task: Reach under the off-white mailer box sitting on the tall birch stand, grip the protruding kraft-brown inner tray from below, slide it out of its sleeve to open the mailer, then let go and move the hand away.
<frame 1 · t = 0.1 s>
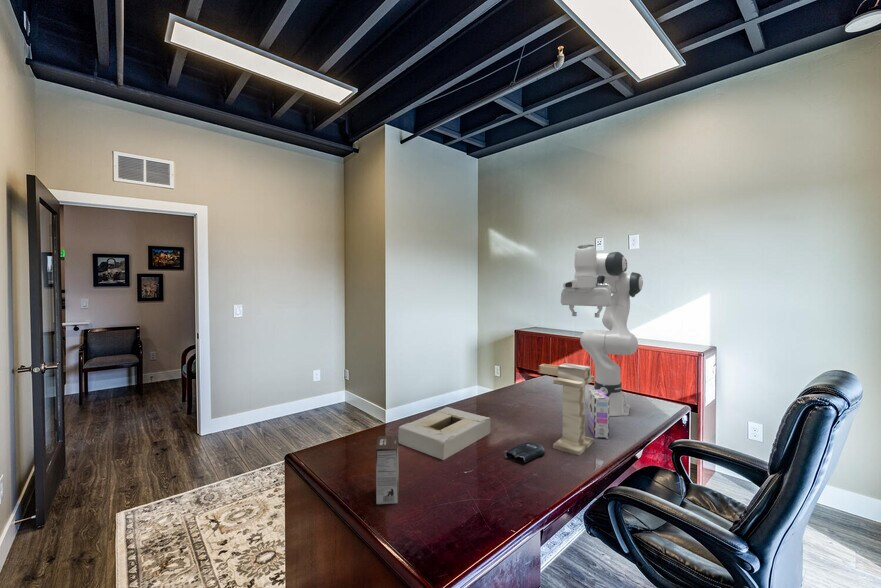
hand: (585, 316, 160), 48 cm above the table, tool pointing down, fingers open, 8 cm apart
electronic device: (526, 456, 139), on the table
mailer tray: (562, 371, 150), point 28 cm above the table, slide at 0.0 cm
coffee box: (387, 496, 114), on the table
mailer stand: (573, 445, 148), on the table
box: (446, 439, 155), on the table
candy box: (598, 432, 160), on the table
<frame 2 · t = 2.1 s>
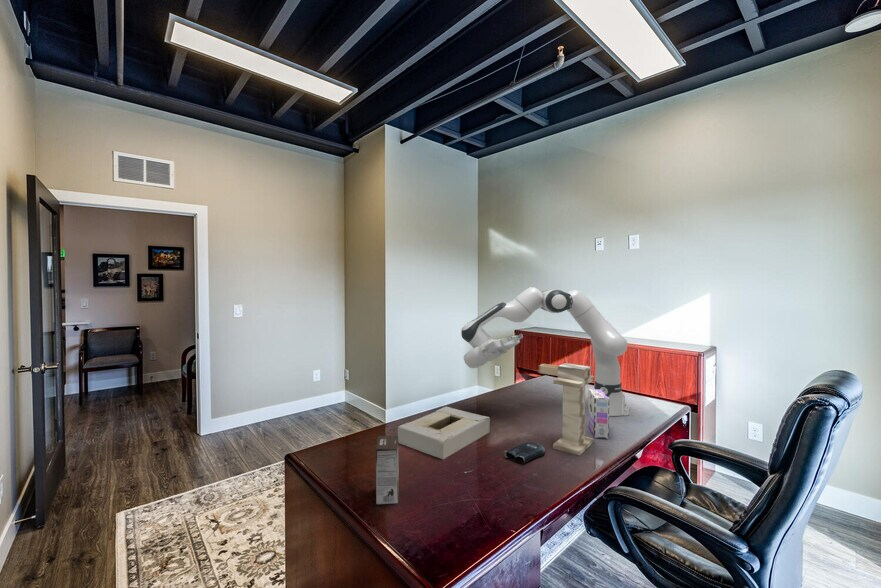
hand: (516, 336, 166), 39 cm above the table, tool pointing upward, fingers open, 8 cm apart
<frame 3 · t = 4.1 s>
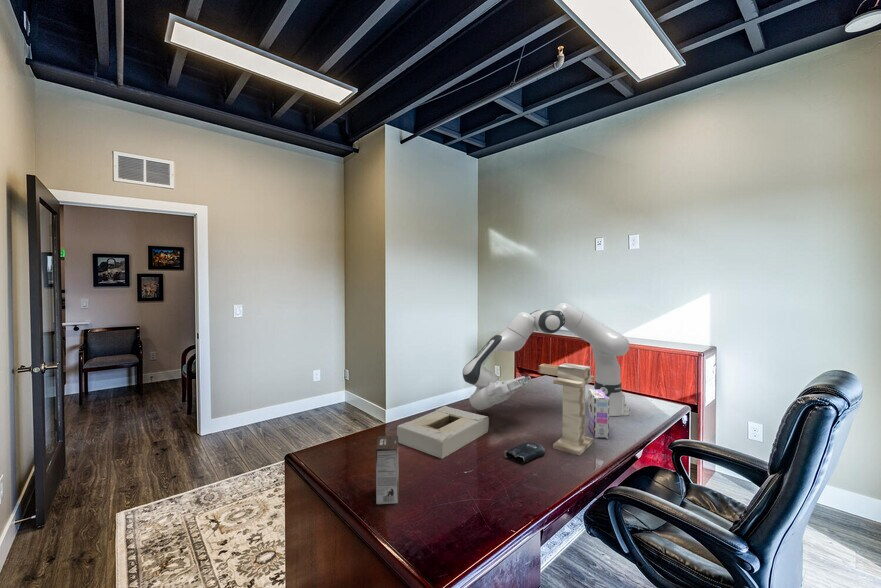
hand: (524, 380, 160), 22 cm above the table, tool pointing upward, fingers open, 8 cm apart
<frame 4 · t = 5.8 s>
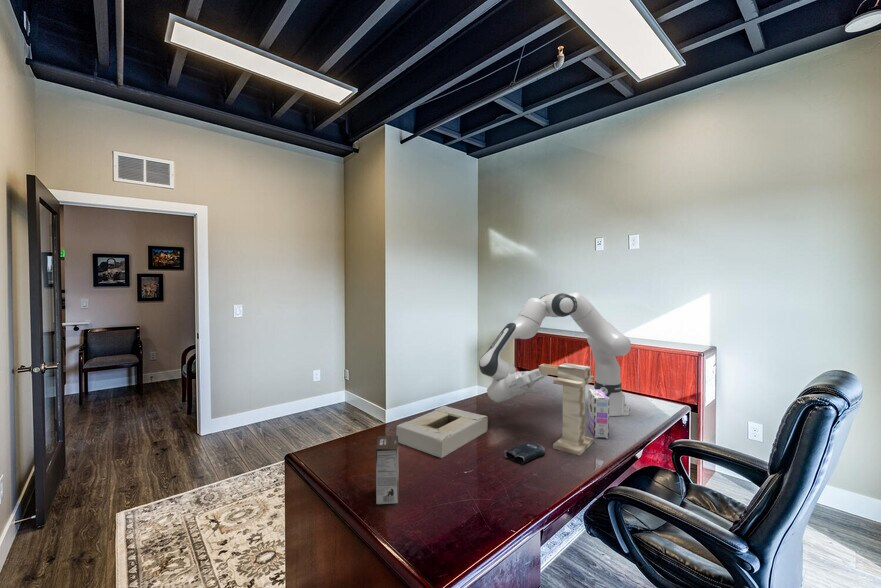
hand: (546, 370, 154), 27 cm above the table, tool pointing upward, fingers open, 8 cm apart
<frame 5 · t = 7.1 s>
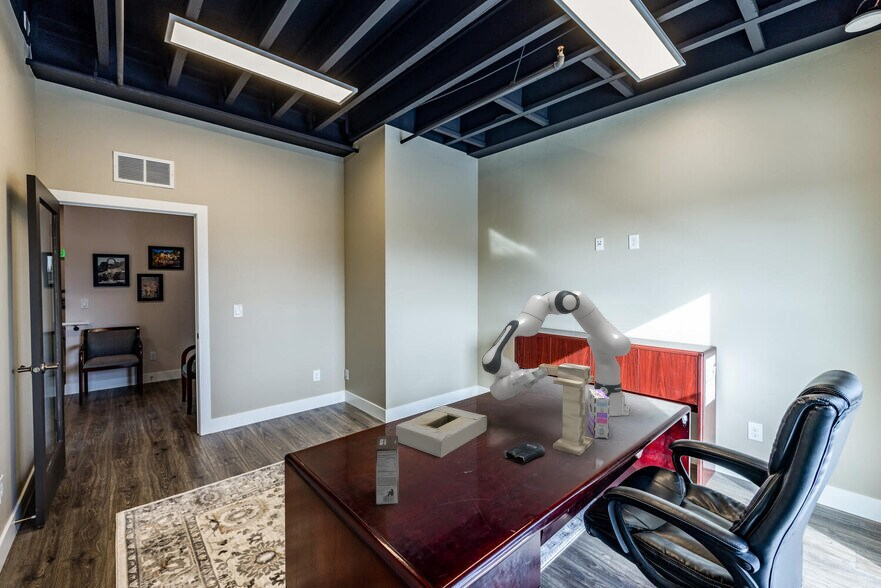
hand: (549, 367, 153), 28 cm above the table, tool pointing upward, fingers closed on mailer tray, 4 cm apart
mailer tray: (562, 371, 150), point 28 cm above the table, slide at 0.0 cm, touching gripper
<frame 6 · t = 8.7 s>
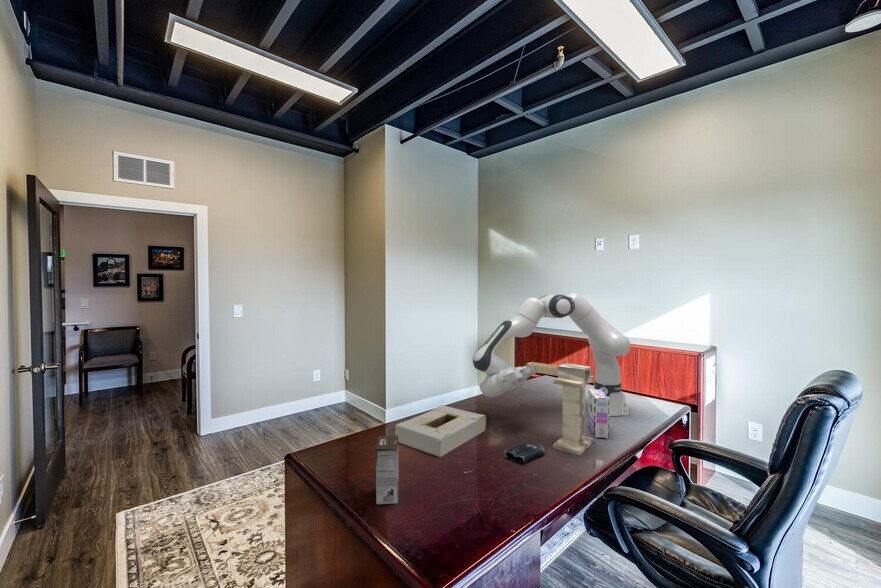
hand: (537, 366, 156), 28 cm above the table, tool pointing upward, fingers closed on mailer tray, 4 cm apart
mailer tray: (549, 369, 153), point 28 cm above the table, slide at 5.4 cm, touching gripper
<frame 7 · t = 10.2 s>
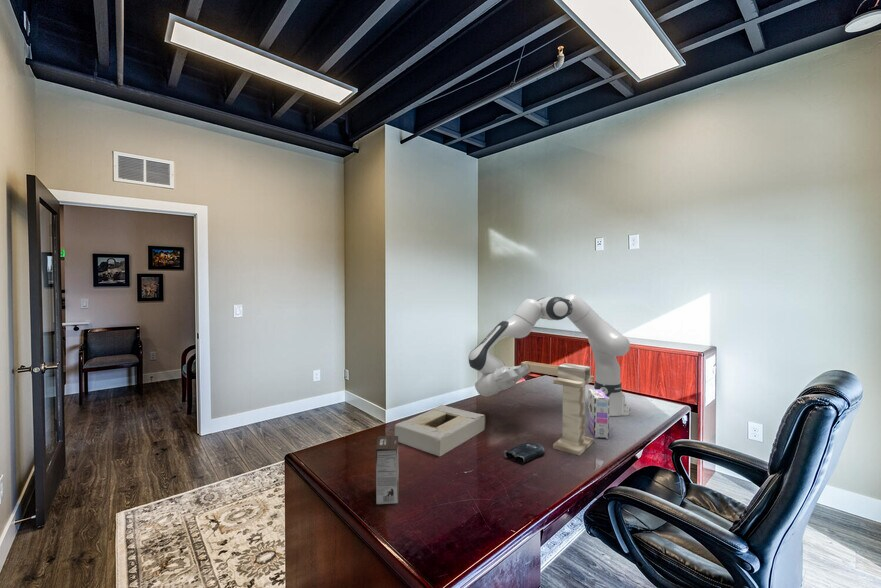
hand: (531, 365, 158), 28 cm above the table, tool pointing upward, fingers closed on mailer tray, 4 cm apart
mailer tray: (543, 368, 155), point 28 cm above the table, slide at 8.0 cm, touching gripper
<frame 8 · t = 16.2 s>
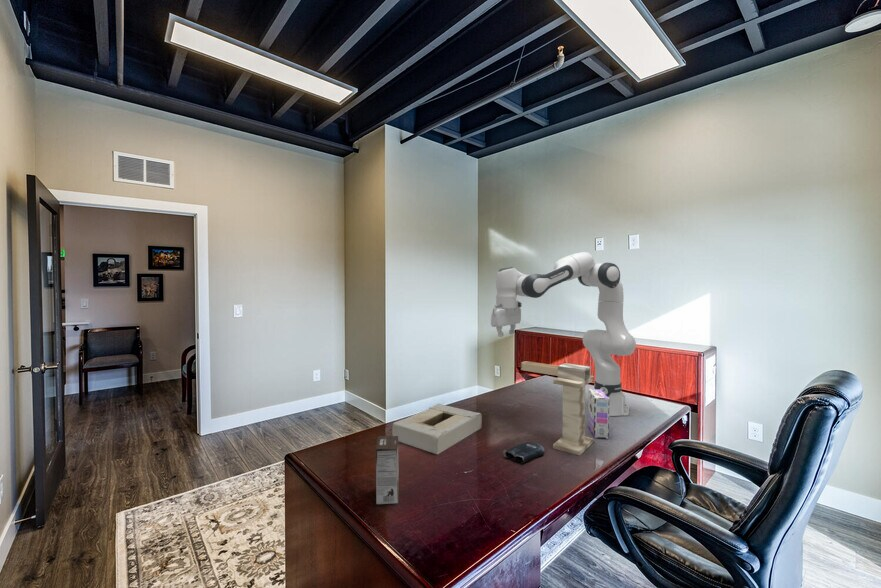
hand: (506, 335, 170), 39 cm above the table, tool pointing down, fingers open, 8 cm apart
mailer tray: (543, 368, 155), point 28 cm above the table, slide at 8.0 cm
box: (438, 435, 159), on the table
everything else where it was.
at the end: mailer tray slide at 8.0 cm; the gripper is holding nothing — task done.
